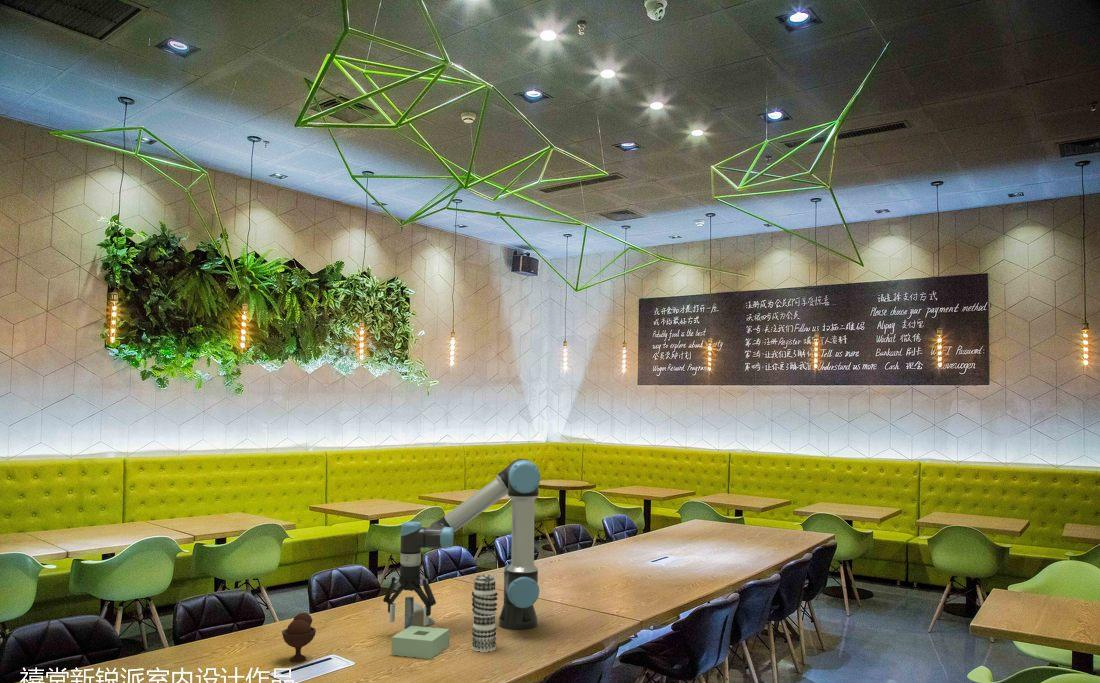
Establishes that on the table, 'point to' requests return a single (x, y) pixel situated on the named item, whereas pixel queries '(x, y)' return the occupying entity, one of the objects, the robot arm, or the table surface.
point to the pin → (409, 611)
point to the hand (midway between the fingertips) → (408, 623)
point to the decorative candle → (484, 613)
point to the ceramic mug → (420, 616)
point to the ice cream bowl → (299, 635)
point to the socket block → (420, 642)
